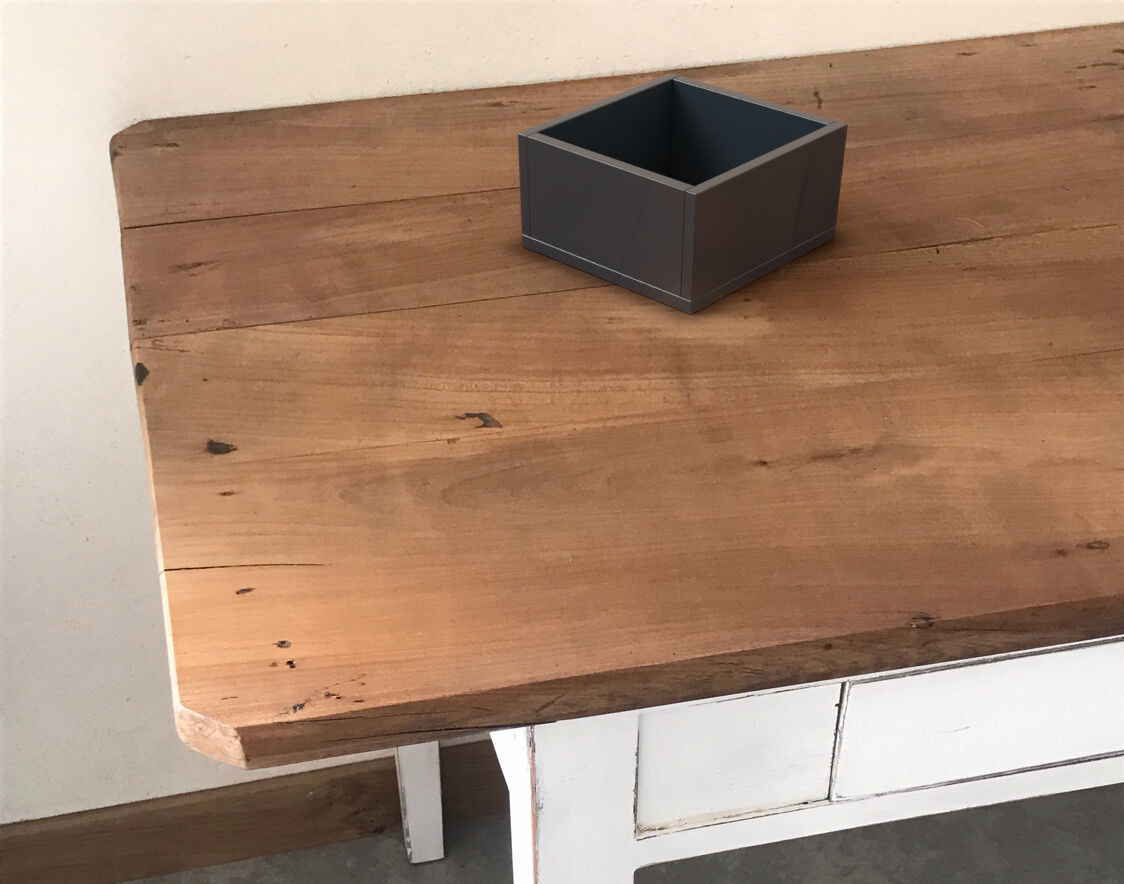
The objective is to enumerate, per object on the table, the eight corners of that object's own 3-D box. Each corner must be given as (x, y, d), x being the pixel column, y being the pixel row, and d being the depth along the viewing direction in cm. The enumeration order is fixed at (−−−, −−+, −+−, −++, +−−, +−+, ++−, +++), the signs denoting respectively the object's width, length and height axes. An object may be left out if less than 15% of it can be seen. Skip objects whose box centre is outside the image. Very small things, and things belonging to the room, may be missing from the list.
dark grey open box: (835, 238, 85) (848, 123, 80) (690, 314, 78) (696, 194, 73) (667, 181, 92) (671, 72, 87) (521, 246, 85) (517, 132, 80)
